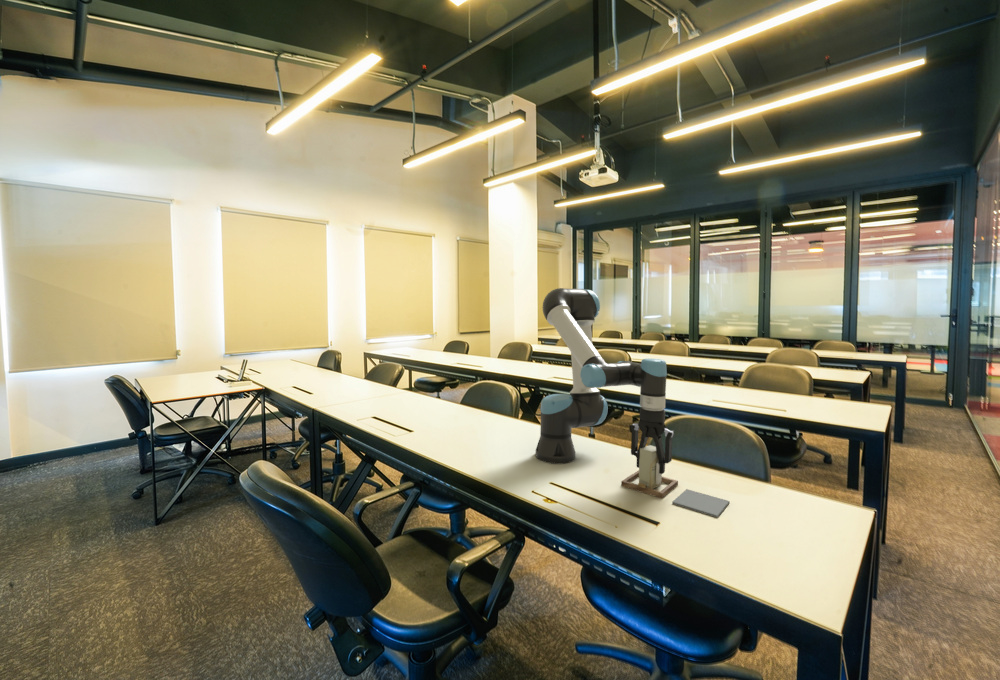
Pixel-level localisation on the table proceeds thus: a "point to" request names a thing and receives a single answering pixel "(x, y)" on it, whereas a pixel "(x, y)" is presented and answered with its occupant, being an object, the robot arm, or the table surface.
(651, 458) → the skincare box
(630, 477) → the collar
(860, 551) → the table surface
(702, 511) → the mat
